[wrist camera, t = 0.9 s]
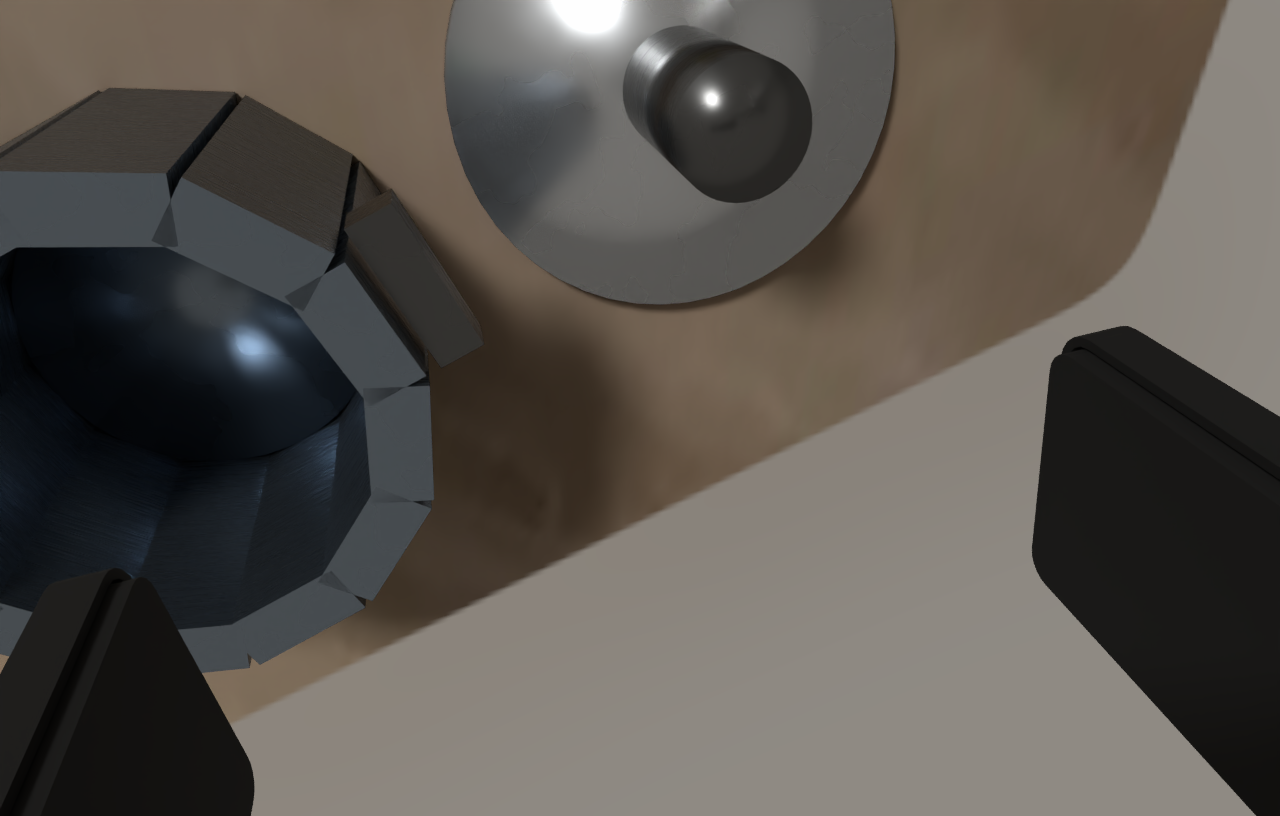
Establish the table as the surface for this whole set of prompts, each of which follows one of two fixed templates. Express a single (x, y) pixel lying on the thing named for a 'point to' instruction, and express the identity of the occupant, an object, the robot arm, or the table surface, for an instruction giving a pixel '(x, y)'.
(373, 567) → the pot
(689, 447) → the table surface
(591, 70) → the lid
